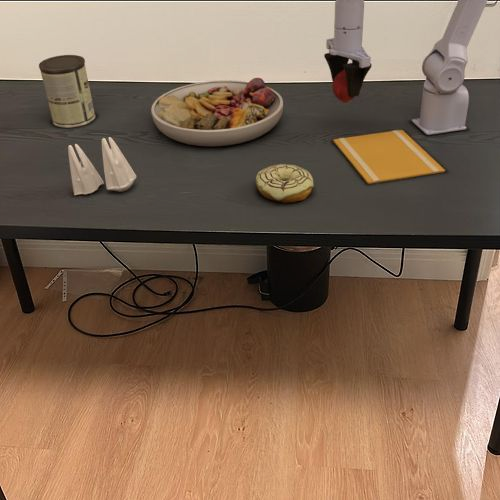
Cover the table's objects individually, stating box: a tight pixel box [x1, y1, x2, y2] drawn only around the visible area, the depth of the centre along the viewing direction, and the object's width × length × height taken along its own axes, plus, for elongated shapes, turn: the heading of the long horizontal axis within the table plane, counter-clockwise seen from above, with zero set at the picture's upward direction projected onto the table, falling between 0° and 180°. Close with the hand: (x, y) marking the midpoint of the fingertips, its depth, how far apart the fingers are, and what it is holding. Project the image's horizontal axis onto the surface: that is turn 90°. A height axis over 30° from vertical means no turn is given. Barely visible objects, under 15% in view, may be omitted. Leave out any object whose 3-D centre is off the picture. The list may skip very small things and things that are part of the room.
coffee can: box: [38, 54, 96, 129], centre depth 149 cm, size 10×10×14 cm
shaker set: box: [67, 136, 137, 196], centre depth 120 cm, size 12×4×11 cm, turn 88°
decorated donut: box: [255, 163, 315, 204], centre depth 119 cm, size 10×11×4 cm
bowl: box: [150, 77, 284, 147], centre depth 145 cm, size 30×30×8 cm
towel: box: [332, 129, 446, 185], centre depth 130 cm, size 16×20×1 cm
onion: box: [331, 70, 355, 104], centre depth 134 cm, size 6×6×8 cm
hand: (345, 91), depth 135 cm, fingers closed on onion, 6 cm apart
